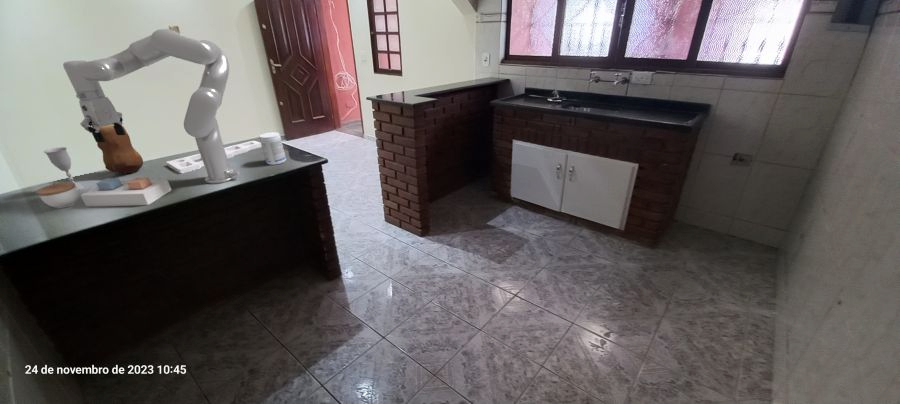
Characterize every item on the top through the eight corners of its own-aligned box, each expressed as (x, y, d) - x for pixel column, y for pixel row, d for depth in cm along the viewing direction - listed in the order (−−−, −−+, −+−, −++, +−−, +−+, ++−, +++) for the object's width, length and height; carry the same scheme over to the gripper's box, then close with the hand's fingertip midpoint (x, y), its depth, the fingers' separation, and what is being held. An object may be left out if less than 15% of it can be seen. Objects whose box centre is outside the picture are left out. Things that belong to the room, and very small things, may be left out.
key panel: (171, 190, 153) (167, 179, 151) (148, 204, 141) (143, 193, 138) (115, 191, 152) (110, 180, 150) (86, 206, 140) (80, 195, 138)
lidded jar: (46, 205, 141) (33, 184, 137) (82, 196, 148) (71, 176, 144) (47, 214, 135) (34, 191, 130) (85, 204, 142) (73, 183, 138)
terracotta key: (151, 184, 147) (148, 177, 145) (142, 189, 142) (139, 182, 141) (139, 184, 147) (136, 177, 145) (129, 189, 142) (126, 182, 141)
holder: (255, 144, 212) (253, 140, 211) (270, 150, 202) (269, 145, 201) (167, 166, 180) (165, 161, 179) (181, 174, 170) (179, 169, 169)
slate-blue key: (122, 184, 146) (118, 178, 145) (112, 189, 142) (108, 183, 141) (109, 185, 146) (106, 178, 145) (99, 190, 142) (96, 183, 140)
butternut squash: (137, 166, 180) (115, 117, 168) (152, 170, 175) (131, 120, 163) (104, 175, 169) (78, 124, 157) (119, 180, 164) (94, 127, 152)
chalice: (90, 186, 157) (70, 148, 149) (72, 193, 151) (50, 153, 143) (80, 184, 159) (60, 146, 151) (61, 190, 154) (39, 151, 145)
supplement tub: (287, 158, 188) (281, 131, 182) (284, 164, 180) (277, 136, 173) (268, 159, 187) (261, 132, 180) (264, 166, 178) (256, 137, 172)
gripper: (79, 99, 127) (101, 145, 135) (119, 91, 143) (137, 132, 151) (59, 99, 127) (82, 145, 135) (101, 91, 143) (120, 132, 151)
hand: (111, 138), depth 143 cm, fingers open, 9 cm apart
